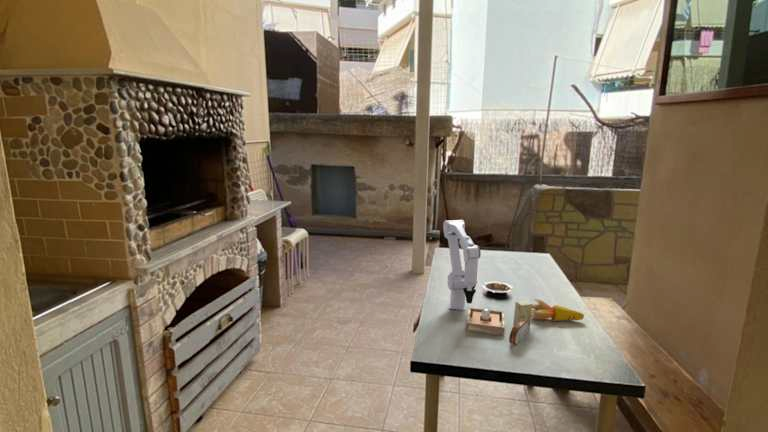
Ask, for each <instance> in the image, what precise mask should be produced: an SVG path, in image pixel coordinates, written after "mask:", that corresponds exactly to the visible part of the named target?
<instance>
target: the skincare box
mask: <svg viewBox="0 0 768 432" xmlns="http://www.w3.org/2000/svg"><path fill="white" fill-rule="evenodd" d="M532 305H533V303H532V302H531V301H529V300H525V299H524V300H518V301H517V300H516V301H515V305H514V306H515V307H514V314H513V315H514V316H513V322H512V323H513V325H512V327H513V326H514V325H515V324H516V323H517V322H518V321H519V320H520V319H522V318H523V319H525V320H527V321H528V328H527V330H530V328H531V321H532V317H531V313H532V312H533V311H532V310H533V308H532Z"/></svg>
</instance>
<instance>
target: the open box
mask: <svg viewBox="0 0 768 432" xmlns="http://www.w3.org/2000/svg"><path fill="white" fill-rule="evenodd" d="M482 309H483V308H478V307H471V306H470V307H469V308H468V313H467V320H466V332H471V333H478V334H479V333H481V334H485V335H493V336H501V337H504V336H505V313H504V311H503V310H497V309H496V310H495V309H490V313H491V314H499V326H494V325H486V324H478V323H472V316H473V311H474V312H482Z"/></svg>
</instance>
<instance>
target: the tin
mask: <svg viewBox="0 0 768 432" xmlns="http://www.w3.org/2000/svg"><path fill="white" fill-rule="evenodd" d="M527 328H528V321H527V320H525V319H523V318H522V319H520V320H519V321H518V322H517V323H516V324H515V325H514V326H513V325H512V329H511V331H510V333H509V339H508V342H509V343H510V344H513V345H514V346H516V345H518V344H520V343H521V341H522V340H523V339H524V338H525V337H526V335H527V332H528V329H527Z"/></svg>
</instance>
